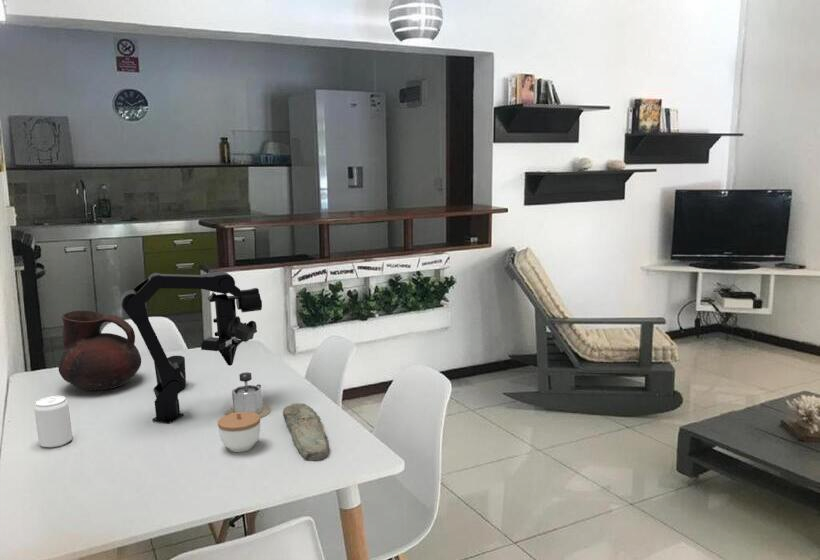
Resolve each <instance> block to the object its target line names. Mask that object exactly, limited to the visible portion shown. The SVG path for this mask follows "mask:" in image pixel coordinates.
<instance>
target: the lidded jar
mask: <svg viewBox="0 0 820 560" xmlns="http://www.w3.org/2000/svg"><path fill="white" fill-rule="evenodd" d="M217 426H218V433H219V438H220V441H221V442H222V444H223V445H224V446H225V447H226V448H228V449H229V451H230V452H234V453H241V452H242V453H243V452H246V451H250V450H251V449H253V447H254V445H255V444H256V443H257V441H258V440H259V437H260V435H261V434H260V433H261V418H260V416H259V415H258V414H257V413H254V412H235V413H231V414H227V415H225V414H224V415H223V416H221V417H220V418H219V419H218V420H217Z"/></svg>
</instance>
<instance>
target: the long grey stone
mask: <svg viewBox="0 0 820 560" xmlns="http://www.w3.org/2000/svg"><path fill="white" fill-rule="evenodd" d="M282 417H283V419H284V423H286V428H288V431H289V432H290V435H291V438H292V442H293V443H294V445H295V447H296V449H297V451H298V452H299V455H301V457H303V458H304V459H306V460H307V461H309V462H316V461H317V462H319V461H321V460H324V459H326V458H327V457H328V453H329V451H330V450H329V447H330V445H329V443H328V442H329V441H328V438H329V437H328V436H327V435H326V433H325V430H324V426H323V425H322V424H323V423H322V421H321V420H322V419H321V416H319V415H318V414H317V412H316V411H314V408H313V407H310V405H308V404H306V403H301V402H298V403H292V404H290V405H287V406H285V407H284V408H283V410H282Z"/></svg>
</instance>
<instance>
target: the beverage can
mask: <svg viewBox="0 0 820 560" xmlns="http://www.w3.org/2000/svg"><path fill="white" fill-rule="evenodd" d="M33 409H34V410H33V411H34V416H35V418H34V419H35V425H36V432H37V438H38V439H37V440H38V445H39V446H40V447H43V448H57V447H61V446H64V445H66V444H68V443H69V442H71V441H72V439H73V430H72V422H71V412H70V406H69V402H68V400H67V398H66V397H65V396H63V395H52V396H46V397H42V398H40V399H37V401H36V402H35V405H34V408H33Z"/></svg>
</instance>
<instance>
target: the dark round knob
mask: <svg viewBox="0 0 820 560" xmlns="http://www.w3.org/2000/svg"><path fill="white" fill-rule="evenodd" d="M252 379H253V377H252V373H251V372H241V373H240V374H239V381H240V382H244V386H245V388H244V389H240V390H238V391H237V394H249V393H254V392H256V389H254V388H248V385H249V384H248V382H249V381H251V380H252Z"/></svg>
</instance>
